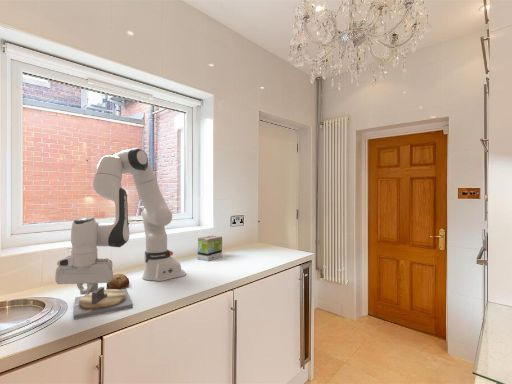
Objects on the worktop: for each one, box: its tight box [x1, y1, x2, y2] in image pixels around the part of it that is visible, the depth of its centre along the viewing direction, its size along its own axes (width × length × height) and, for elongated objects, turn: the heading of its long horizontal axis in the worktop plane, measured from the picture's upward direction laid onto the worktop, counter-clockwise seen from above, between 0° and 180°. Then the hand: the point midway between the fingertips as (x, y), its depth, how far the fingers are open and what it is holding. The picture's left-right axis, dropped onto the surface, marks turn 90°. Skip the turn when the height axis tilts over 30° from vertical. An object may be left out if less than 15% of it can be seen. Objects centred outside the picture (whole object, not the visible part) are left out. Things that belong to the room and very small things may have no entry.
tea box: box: [196, 235, 223, 262], centre depth 195 cm, size 15×10×15 cm, turn 148°
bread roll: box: [106, 273, 130, 290], centre depth 138 cm, size 10×10×8 cm
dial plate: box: [73, 288, 134, 320], centre depth 117 cm, size 20×20×2 cm
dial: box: [79, 286, 126, 309], centre depth 116 cm, size 17×17×6 cm
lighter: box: [86, 283, 99, 293], centre depth 133 cm, size 7×2×8 cm, turn 137°
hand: (85, 294), depth 110 cm, fingers closed
